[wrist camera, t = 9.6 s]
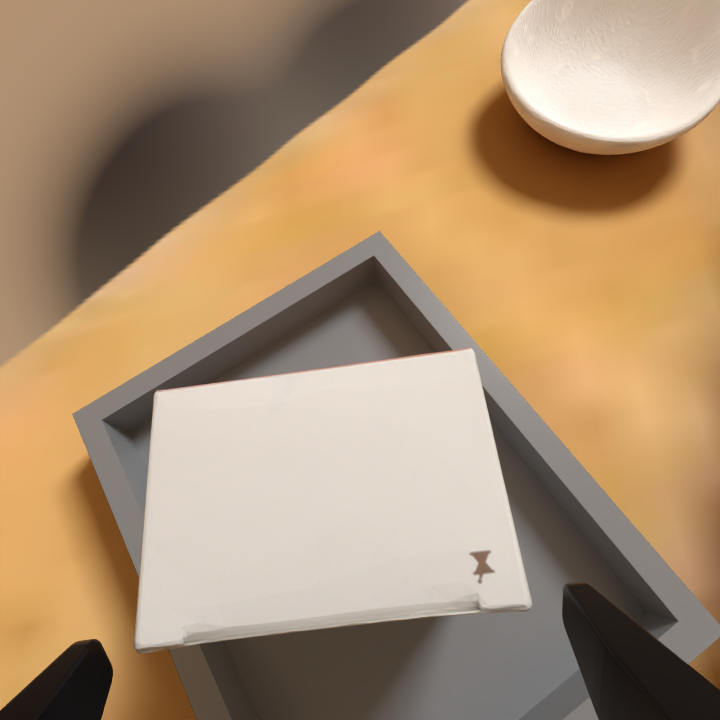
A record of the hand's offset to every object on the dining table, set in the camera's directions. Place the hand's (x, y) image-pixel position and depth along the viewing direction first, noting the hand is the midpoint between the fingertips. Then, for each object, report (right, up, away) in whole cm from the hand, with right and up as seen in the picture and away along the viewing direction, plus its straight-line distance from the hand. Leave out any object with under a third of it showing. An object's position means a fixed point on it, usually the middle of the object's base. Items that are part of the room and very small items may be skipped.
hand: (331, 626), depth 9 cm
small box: (+1, -2, +11) cm, 11 cm away
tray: (+1, -2, +11) cm, 12 cm away
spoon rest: (+17, +25, +22) cm, 37 cm away
